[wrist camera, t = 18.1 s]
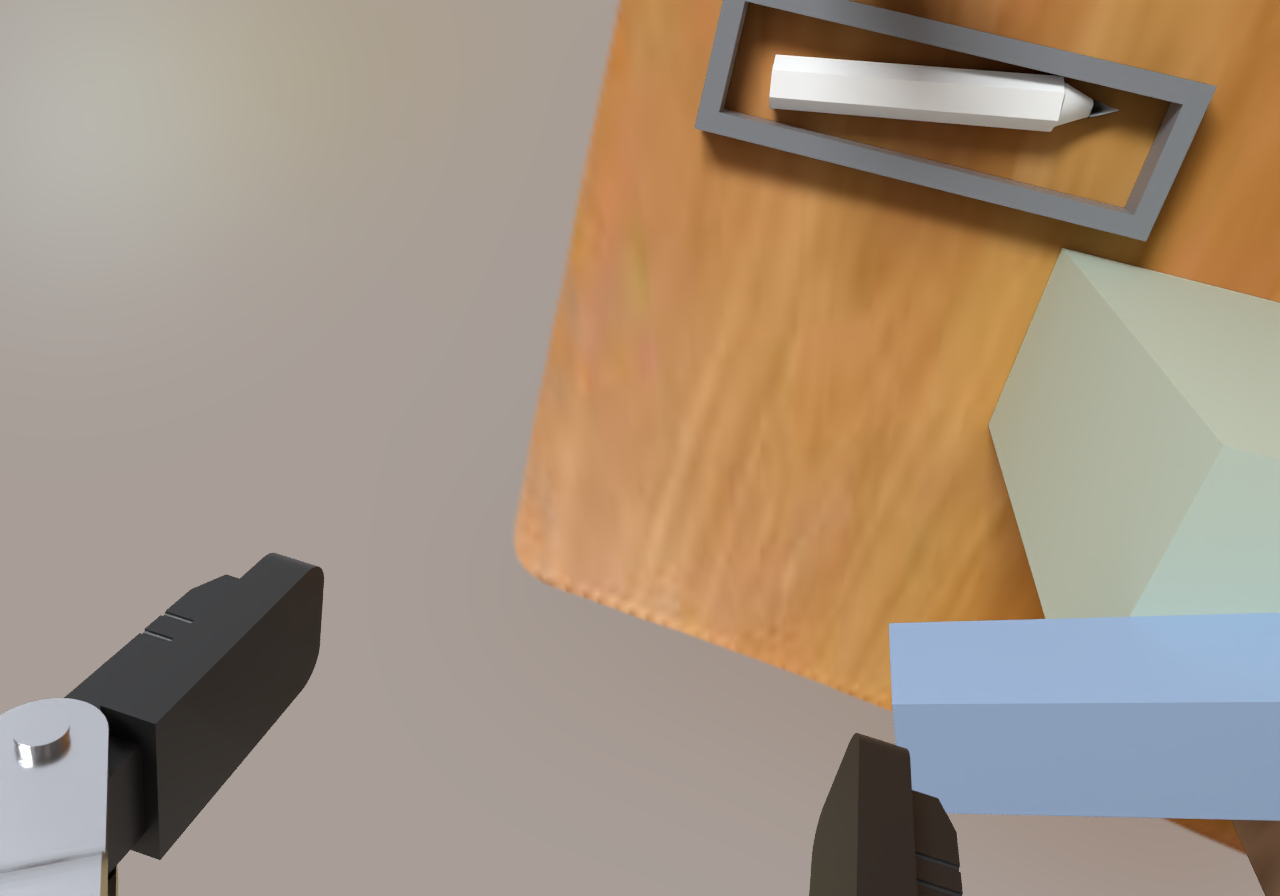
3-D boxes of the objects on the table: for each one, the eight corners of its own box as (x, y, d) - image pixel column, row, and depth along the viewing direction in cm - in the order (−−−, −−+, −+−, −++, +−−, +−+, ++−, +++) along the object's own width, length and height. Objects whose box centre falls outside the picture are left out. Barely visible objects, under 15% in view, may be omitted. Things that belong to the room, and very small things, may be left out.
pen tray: (734, -27, 46) (729, -28, 44) (1203, 83, 43) (1216, 86, 42) (700, 124, 49) (694, 128, 47) (1136, 233, 47) (1146, 241, 45)
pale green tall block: (1062, 247, 48) (1223, 445, 26) (1310, 310, 46) (1690, 570, 25) (988, 425, 52) (1074, 717, 31) (1212, 486, 51) (1464, 834, 30)
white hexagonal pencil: (1111, 109, 46) (774, 85, 48) (1127, 70, 44) (776, 46, 46) (1115, 145, 44) (767, 118, 47) (1132, 105, 42) (770, 79, 45)
